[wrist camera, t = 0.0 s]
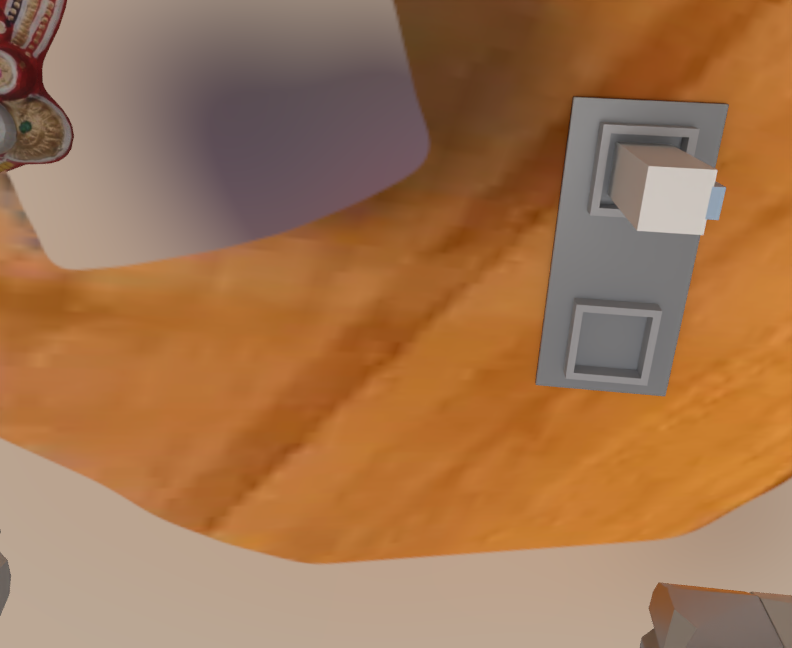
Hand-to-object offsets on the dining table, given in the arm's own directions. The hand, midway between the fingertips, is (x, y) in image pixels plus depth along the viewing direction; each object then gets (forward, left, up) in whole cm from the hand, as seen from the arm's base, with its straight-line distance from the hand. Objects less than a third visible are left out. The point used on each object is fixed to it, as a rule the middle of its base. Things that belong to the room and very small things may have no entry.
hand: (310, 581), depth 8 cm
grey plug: (+2, +14, -47) cm, 49 cm away
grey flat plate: (+9, +14, -48) cm, 51 cm away
